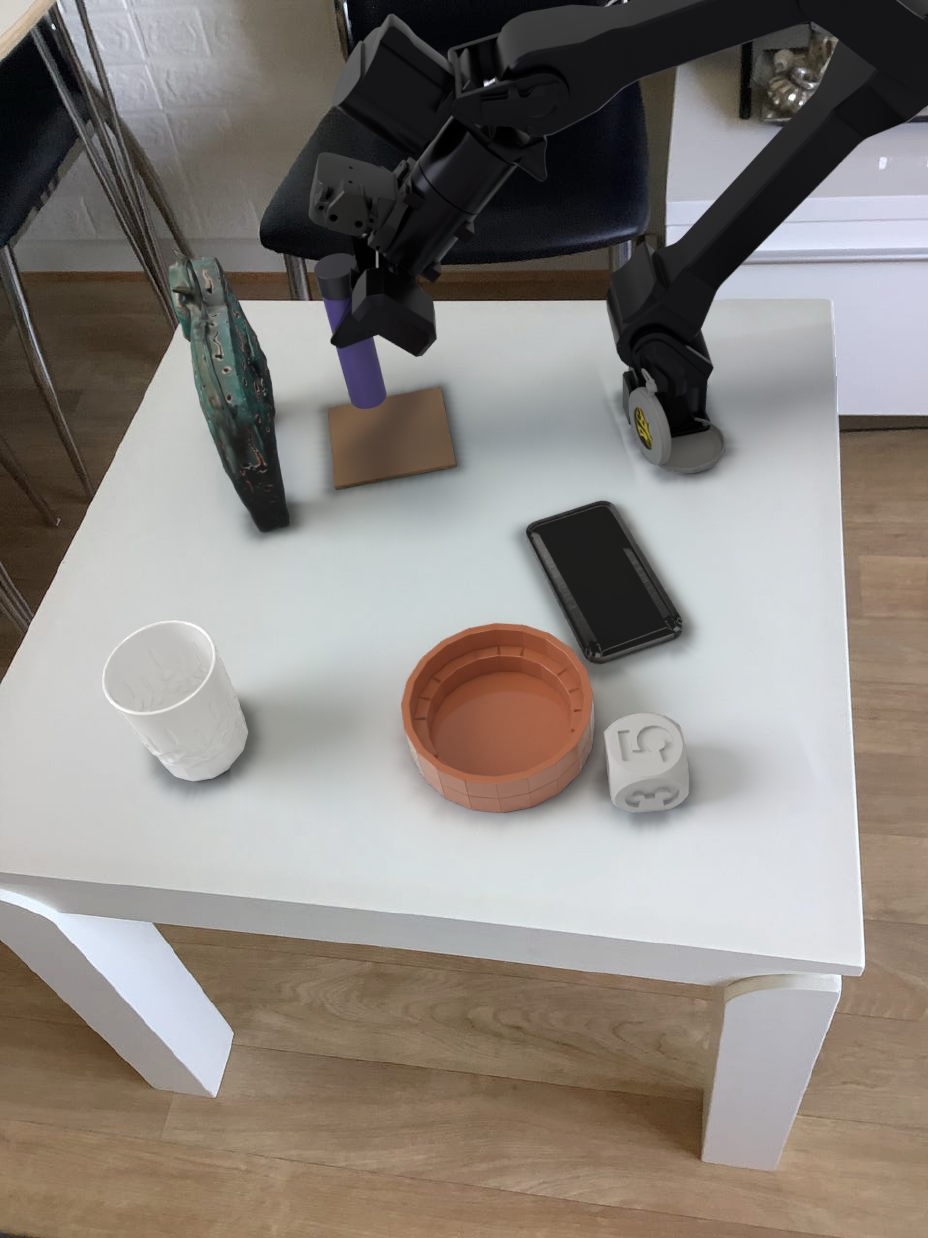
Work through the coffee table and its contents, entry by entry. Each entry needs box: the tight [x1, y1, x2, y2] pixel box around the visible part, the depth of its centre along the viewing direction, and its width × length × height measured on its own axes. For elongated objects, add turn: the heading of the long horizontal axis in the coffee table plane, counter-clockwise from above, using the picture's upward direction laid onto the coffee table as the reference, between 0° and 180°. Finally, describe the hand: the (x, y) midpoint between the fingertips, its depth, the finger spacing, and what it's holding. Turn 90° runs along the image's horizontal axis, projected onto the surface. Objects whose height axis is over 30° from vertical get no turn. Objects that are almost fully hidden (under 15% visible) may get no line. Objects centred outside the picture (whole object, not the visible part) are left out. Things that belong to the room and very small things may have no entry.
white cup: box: [101, 619, 249, 782], centre depth 75 cm, size 8×8×10 cm
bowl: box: [400, 622, 596, 813], centre depth 74 cm, size 13×13×4 cm
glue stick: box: [313, 252, 388, 409], centre depth 86 cm, size 3×3×13 cm
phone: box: [525, 500, 683, 665], centre depth 83 cm, size 8×1×15 cm
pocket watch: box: [629, 368, 727, 474], centre depth 88 cm, size 8×8×10 cm
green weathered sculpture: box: [168, 247, 291, 533], centre depth 90 cm, size 20×6×20 cm, turn 15°
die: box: [602, 712, 690, 814], centre depth 70 cm, size 5×5×5 cm
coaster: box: [327, 386, 457, 490], centre depth 97 cm, size 11×11×1 cm
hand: (335, 331), depth 86 cm, fingers closed on glue stick, 3 cm apart
